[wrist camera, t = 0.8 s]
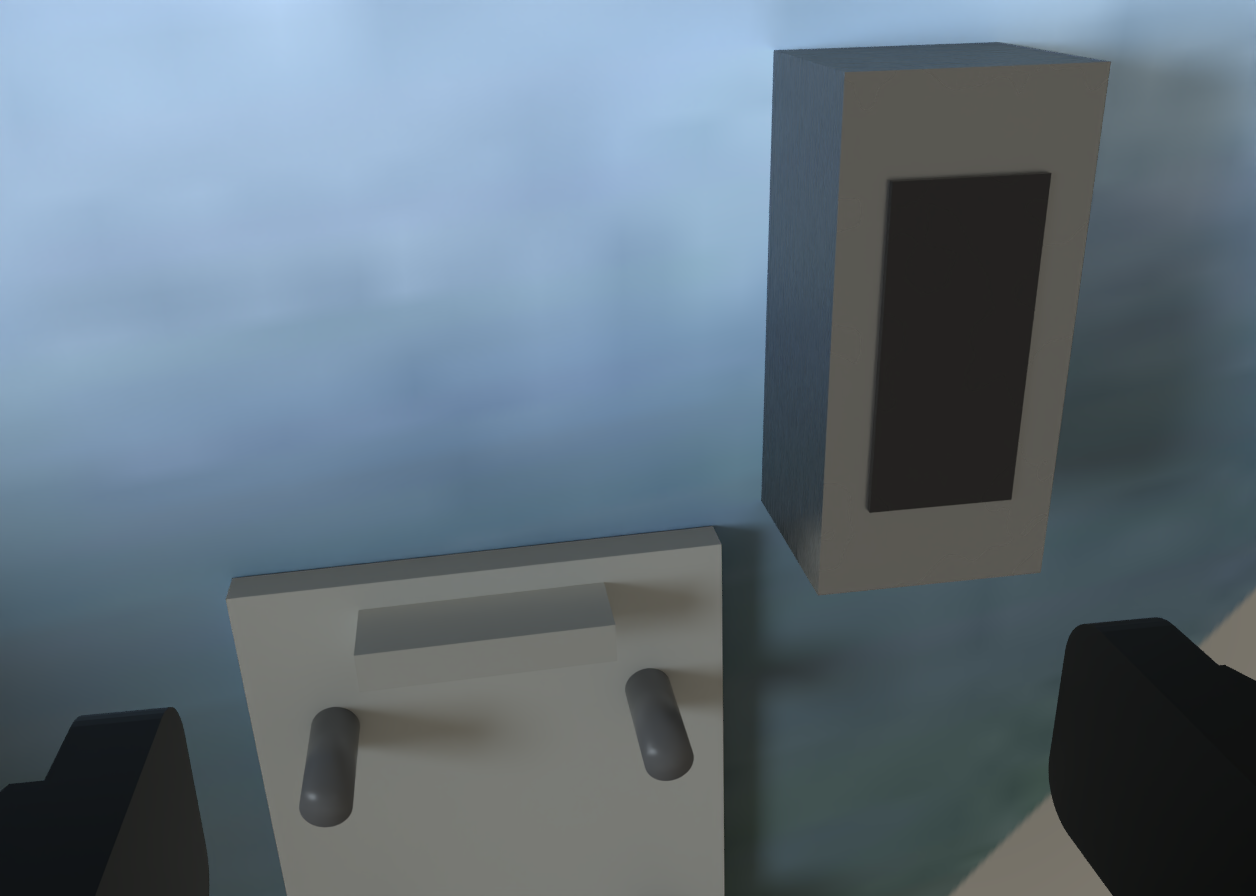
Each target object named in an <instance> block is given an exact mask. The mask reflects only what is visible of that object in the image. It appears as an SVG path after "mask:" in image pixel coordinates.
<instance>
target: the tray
mask: <svg viewBox="0 0 1256 896" xmlns="http://www.w3.org/2000/svg"><path fill="white" fill-rule="evenodd" d="M226 603H227V608H228V612H229V617H230V622H231V627H232V632H233V637H234V641H235V646H236V651H237V656H238V661H239V666H240V671H241V675H242V680H243V685H244V690H245V695H246V700H247V704H248V709H249V714H250V719H251V724H252V729H253V733H254V738H255V743H256V748H257V753H258V758H259V762H260V767H261V772H262V777H263V782H264V787H265V791H266V796H267V801H268V806H269V811H270V816H271V820H272V825H273V830H274V835H275V840H276V845H277V849H278V854H279V859H280V864H281V869H282V874H283V879H284V883H285V888H286V893H287V896H724V785H723V663H722V544H721V542H720V540H719V538H718V536H717V534H716V532H715V530H714V528H713V526H709V527H700V528H691V529H682V530H672V531H663V532H654V533H645V534H636V535H626V536H617V537H608V538H599V539H590V540H580V541H571V542H562V543H553V544H544V545H535V546H525V547H516V548H507V549H498V550H489V551H479V552H470V553H461V554H452V555H443V556H433V557H424V558H415V559H406V560H397V561H387V562H378V563H369V564H360V565H351V566H341V567H332V568H323V569H314V570H305V571H295V572H286V573H277V574H268V575H259V576H249V577H240V578H232V581H231V584H230V587H229V590H228V594H227V597H226Z"/></svg>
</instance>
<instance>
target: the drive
mask: <svg viewBox="0 0 1256 896" xmlns="http://www.w3.org/2000/svg"><path fill="white" fill-rule="evenodd" d="M1110 64H1111V62H1110V61H1104V60H1098V59H1092V58H1087V57H1081V56H1075V55H1069V54H1063V53H1058V52H1052V51H1046V50H1040V49H1035V48H1029V47H1023V46H1017V45H1011V44H1006V43H1000V42H988V43H961V44H934V45H906V46H879V47H851V48H824V49H796V50H774V57H773V93H772V129H771V166H770V202H769V238H768V274H767V311H766V347H765V383H764V419H763V456H762V492H761V501H762V503H763V504H764V506H765V508H766V509H767V511H768V513H769V514H770V516H771V518H772V519H773V521H774V523H775V524H776V526H777V528H778V529H779V531H780V533H781V534H782V536H783V538H784V539H785V541H786V543H787V544H788V546H789V548H790V549H791V551H792V553H793V554H794V556H795V558H796V559H797V561H798V563H799V564H800V566H801V568H802V569H803V571H804V573H805V574H806V576H807V578H808V579H809V581H810V583H811V584H812V586H813V588H814V589H815V591H816V593H817V594H818V595H826V594H836V593H846V592H856V591H865V590H875V589H885V588H895V587H905V586H914V585H924V584H934V583H944V582H954V581H963V580H973V579H983V578H993V577H1002V576H1012V575H1022V574H1032V573H1040V572H1041V565H1042V558H1043V550H1044V543H1045V536H1046V529H1047V521H1048V514H1049V507H1050V499H1051V492H1052V485H1053V478H1054V470H1055V463H1056V456H1057V449H1058V441H1059V434H1060V427H1061V420H1062V412H1063V405H1064V398H1065V391H1066V383H1067V376H1068V369H1069V361H1070V354H1071V347H1072V340H1073V332H1074V325H1075V318H1076V311H1077V303H1078V296H1079V289H1080V282H1081V274H1082V267H1083V260H1084V252H1085V245H1086V238H1087V231H1088V223H1089V216H1090V209H1091V202H1092V194H1093V187H1094V180H1095V173H1096V165H1097V158H1098V151H1099V144H1100V136H1101V129H1102V122H1103V114H1104V107H1105V100H1106V93H1107V85H1108V78H1109V71H1110Z"/></svg>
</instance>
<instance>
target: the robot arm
mask: <svg viewBox="0 0 1256 896" xmlns="http://www.w3.org/2000/svg"><path fill="white" fill-rule="evenodd" d="M1049 784H1050V790H1051V795H1052V799H1053V803H1054V806H1055V809H1056V812H1057V814H1058V816H1059V819H1060V821H1061V823H1062V825H1063V827H1064V829H1065V830H1066V832H1067V833H1068V835H1069V836H1070V837H1071V839H1072V840H1073V842H1074V843H1075V844H1076V846H1077V847H1078V849H1079V850H1080V851H1081V853H1082V854H1083V855H1084V857H1085V858H1086V859H1087V861H1088V862H1089V864H1090V865H1091V866H1092V868H1093V869H1094V871H1095V872H1096V873H1097V875H1098V876H1099V877H1100V879H1101V880H1102V882H1103V883H1104V884H1105V886H1106V887H1107V888H1108V890H1109V891H1110V892H1111V894H1112V895H1113V896H1256V681H1255V680H1253V679H1251V678H1249V677H1247V676H1245V675H1243V674H1241V673H1239V672H1238V671H1236V670H1234V669H1232V668H1230V667H1228V666H1226V665H1218V664H1217V663H1215V662H1214V661H1213V660H1212V659H1211V658H1210V657H1209V656H1208V655H1206V654H1205V653H1204V652H1203V651H1202V650H1201V649H1200V648H1199V647H1198V646H1196V645H1195V644H1194V643H1193V642H1192V641H1191V640H1190V639H1189V638H1187V637H1186V636H1185V635H1184V634H1183V633H1182V632H1181V631H1180V630H1178V629H1177V628H1176V627H1175V626H1174V625H1173V624H1171V623H1170V622H1169V621H1167V620H1165V619H1163V618H1158V617H1154V618H1143V619H1132V620H1122V621H1111V622H1100V623H1090V624H1082V625H1079V626H1077V627H1076V628H1075V629H1074V630H1073V631H1072V633H1071V634H1070V636H1069V639H1068V641H1067V645H1066V650H1065V656H1064V663H1063V669H1062V676H1061V683H1060V689H1059V696H1058V703H1057V710H1056V716H1055V723H1054V730H1053V737H1052V743H1051V750H1050V757H1049ZM0 896H209V866H208V856H207V850H206V844H205V839H204V833H203V828H202V823H201V818H200V812H199V807H198V802H197V796H196V791H195V786H194V781H193V775H192V770H191V765H190V760H189V754H188V749H187V744H186V738H185V733H184V729H183V725H182V721H181V718H180V716H179V714H178V712H177V711H176V709H174V708H173V707H167V708H157V709H146V710H135V711H125V712H114V713H103V714H93V715H82V716H79V717H78V718H77V719H76V720H75V721H74V722H73V724H72V725H71V727H70V729H69V731H68V733H67V735H66V737H65V739H64V741H63V743H62V745H61V747H60V749H59V752H58V754H57V756H56V758H55V760H54V762H53V764H52V766H51V768H50V770H49V772H48V774H47V776H46V778H45V780H44V781H35V782H25V783H15V784H9V785H8V786H6V787H5V788H4V789H3V790H2V791H1V792H0Z"/></svg>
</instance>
